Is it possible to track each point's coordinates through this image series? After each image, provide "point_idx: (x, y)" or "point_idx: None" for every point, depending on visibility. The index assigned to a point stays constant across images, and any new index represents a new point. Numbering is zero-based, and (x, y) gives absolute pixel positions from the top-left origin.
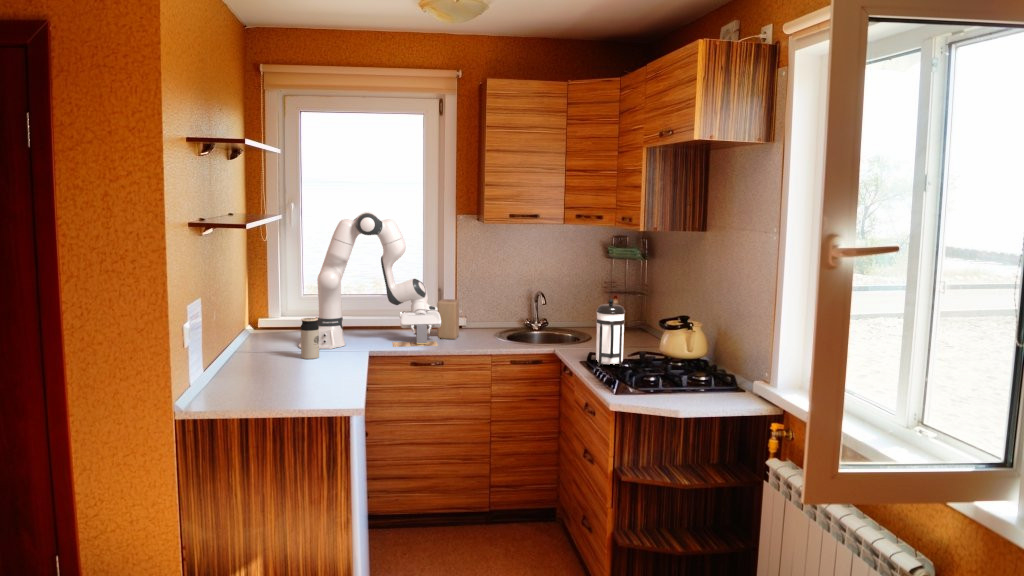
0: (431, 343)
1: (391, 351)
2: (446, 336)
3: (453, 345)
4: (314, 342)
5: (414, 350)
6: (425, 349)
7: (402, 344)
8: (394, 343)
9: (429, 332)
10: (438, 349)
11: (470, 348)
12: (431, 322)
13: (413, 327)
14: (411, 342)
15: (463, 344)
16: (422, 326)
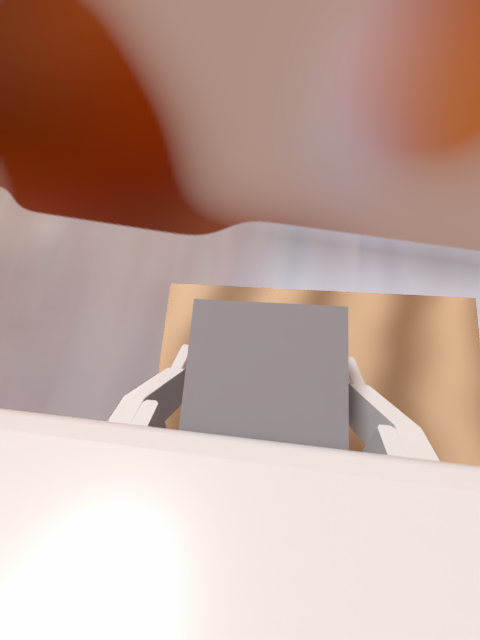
0: None
1: (464, 260)
2: None
3: (72, 369)
4: None
5: (318, 266)
6: (251, 283)
7: (403, 372)
8: (470, 427)
9: (186, 345)
10: (181, 271)
11: (21, 268)
12: (74, 439)
13: (378, 433)
14: None
15: (12, 387)
16: (260, 302)
